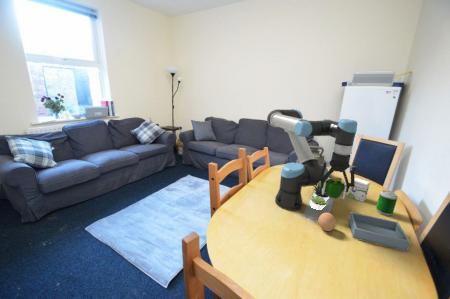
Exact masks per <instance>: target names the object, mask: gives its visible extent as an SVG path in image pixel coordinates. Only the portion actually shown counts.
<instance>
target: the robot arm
mask: <svg viewBox="0 0 450 299" xmlns="http://www.w3.org/2000/svg"><path fill="white" fill-rule="evenodd" d="M266 121H267V123H268V125H269V126H270V127H272V128H276V129H277V128H281V129H283V130H284V132H285V133H287V134H288V136H289V139H290V142H291V145H292V147H293V149H294V151H295V154H296V157H297V159H299V162H300V163H296V162H288V163H285V164H284V165H283V166H282V167H281V172H280V181H279V182H280V183H279V189H278V191H277V194H276V195H275V198H274V203H275V204H276V205H277V206H278V207H280V208H282V209H284V210H288V211H297V210H300V209H302V208H303V203H304V202H303V198H302V187H303V188H304V187H313V186H314V187H315V186H317V183H318V182H319V181H321V185H320V189H321V188H322V189H321V195H324V194H325V185H326V180H329V177H330V176H331V175H332V174H333V173H334V172H339V173H342V174H343V179H344V180H345V184H344V190H343V192H342V194H341V200H345V195H346V193H348V194H349V190H350V187H351V186H352V187H354V178H355V171H356V170H357V167H356V165H351V164H350V160H351V154H352V150H353V146H354V142H355V137H356V133H357V132H358V131H357V130H358V121H356V120H354V119H346V118H342V119H339V120H338V121H335V120H332V119H325V118H324V119H322V120H308V119H303V114H302V112H301V110H298V109H295V108H293V109H278V108H277V109H273V110H272V111H270V112H269V113H268V115H267V118H266ZM306 137H331V138H334V139H335V140H334V143H333V148H332V152H331V153H332V154H331V159H330V160H329V161H326V160H325V161H324V165H323V164H320V163H319V161H318V159H316V158H314V156H313V154H312V152H311V150H312V148H310V147H309V146H310V145H309V143H308V141H307V138H306ZM329 165H330V169H328V166H329ZM348 169H349V170H350V182H349V179H348V176H347V173H346V170H348Z"/></svg>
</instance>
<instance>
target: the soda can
mask: <svg viewBox="0 0 450 299" xmlns="http://www.w3.org/2000/svg"><path fill="white" fill-rule="evenodd" d="M397 201H398V195H397V194H396V193H395V192H393V191H390V190H384V189H383V190H382V191H380V192H379V196H378V199H377V203H376V207H375V210H376V211H377V213H378V214H380V215H383V216H386V217H390V216H392V215H393V214H394V211H395V208H396V204H397Z"/></svg>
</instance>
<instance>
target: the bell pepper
mask: <svg viewBox="0 0 450 299" xmlns="http://www.w3.org/2000/svg"><path fill="white" fill-rule="evenodd" d="M342 180H343V178H341V177H339V178H335V180H334V179H332V178H328V179H327V181H326V185H325V190H324V193H325V194H326V196H328V197H329V198H330V199H334V200H336V199H338V198H340V197H341V196H342V193H343V190H344V185H345V183H343V182H342Z"/></svg>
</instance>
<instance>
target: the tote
mask: <svg viewBox="0 0 450 299" xmlns="http://www.w3.org/2000/svg"><path fill="white" fill-rule="evenodd" d="M349 212H350V213H349V217H348V223H349V228H350V231H351V236H352V238H353V239H355V240H361V241H363V242H368V243H370V244H371V243H372V244H374V245H375V244H376V245H379V246H384V247H387V248H391V249H395V250H400V251H404V252H408V251H409V247H410V244H411V241H410V239H409V238H408V235H407V233H405V230H404V229H403V228H402V226H401V224H400V223H399V221H394V220H390V219H386V218H381V217H376V216H373V215H367V214H363V213H358V212H353V211H349Z"/></svg>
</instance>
